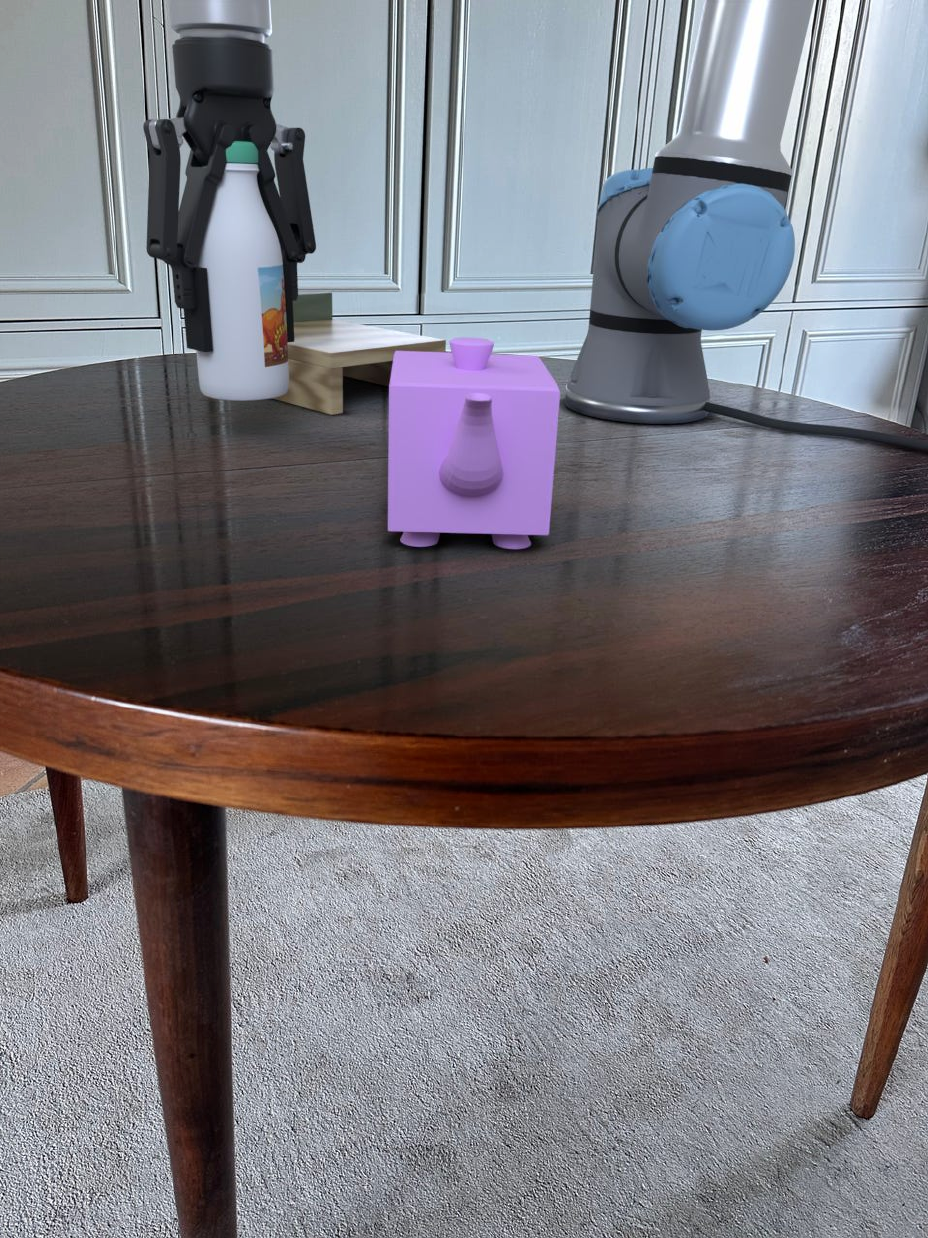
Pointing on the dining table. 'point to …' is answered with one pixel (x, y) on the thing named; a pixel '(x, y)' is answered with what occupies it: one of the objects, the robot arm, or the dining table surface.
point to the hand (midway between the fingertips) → (242, 344)
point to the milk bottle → (243, 289)
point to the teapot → (471, 444)
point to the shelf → (340, 354)
